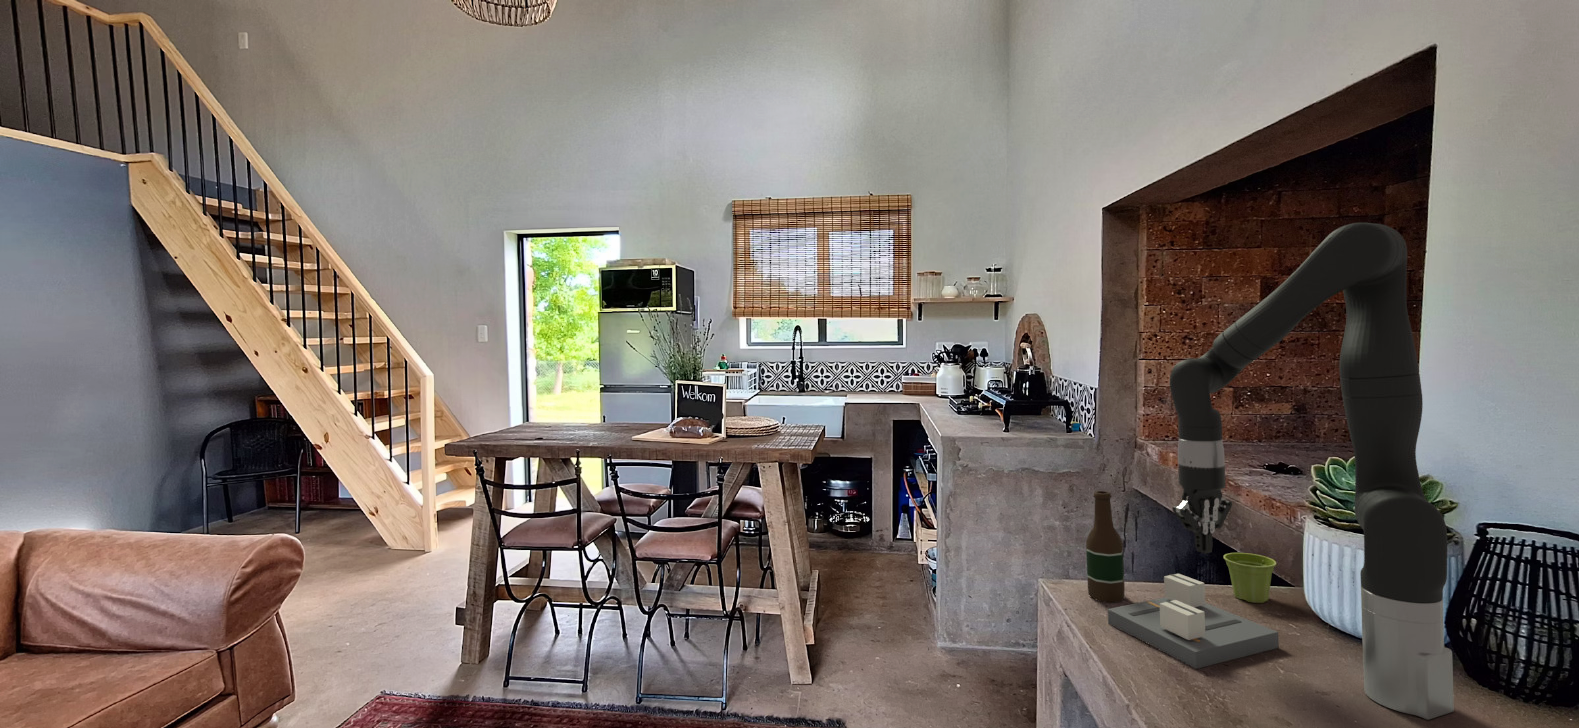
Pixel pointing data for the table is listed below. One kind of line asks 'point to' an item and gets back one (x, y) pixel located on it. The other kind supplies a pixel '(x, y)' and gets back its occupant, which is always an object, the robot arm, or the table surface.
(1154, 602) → the fader board
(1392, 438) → the robot arm
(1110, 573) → the beer bottle
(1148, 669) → the table surface
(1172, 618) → the block
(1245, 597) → the plant pot
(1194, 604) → the block
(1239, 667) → the table surface
